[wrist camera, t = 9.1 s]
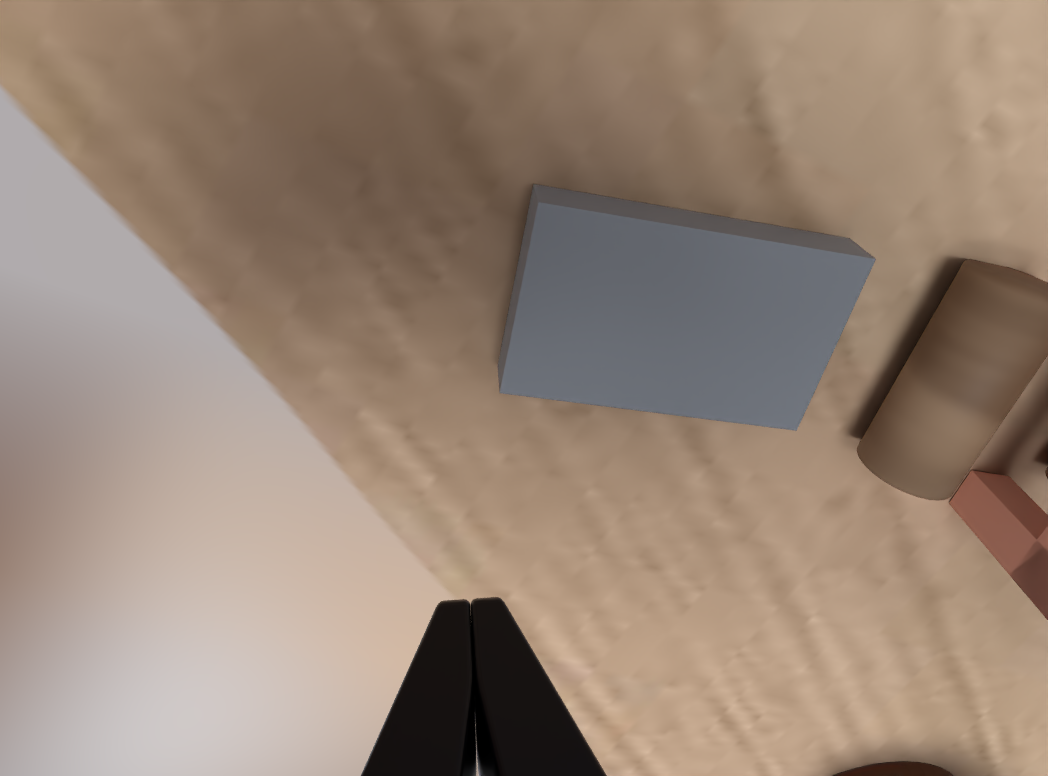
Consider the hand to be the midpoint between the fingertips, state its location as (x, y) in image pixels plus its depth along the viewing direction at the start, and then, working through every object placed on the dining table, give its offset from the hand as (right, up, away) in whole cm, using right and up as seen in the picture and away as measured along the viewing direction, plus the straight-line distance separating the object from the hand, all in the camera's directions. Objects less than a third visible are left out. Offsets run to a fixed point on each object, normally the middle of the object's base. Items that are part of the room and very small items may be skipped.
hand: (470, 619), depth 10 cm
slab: (+5, +6, +12) cm, 14 cm away
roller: (+12, +4, +12) cm, 18 cm away
